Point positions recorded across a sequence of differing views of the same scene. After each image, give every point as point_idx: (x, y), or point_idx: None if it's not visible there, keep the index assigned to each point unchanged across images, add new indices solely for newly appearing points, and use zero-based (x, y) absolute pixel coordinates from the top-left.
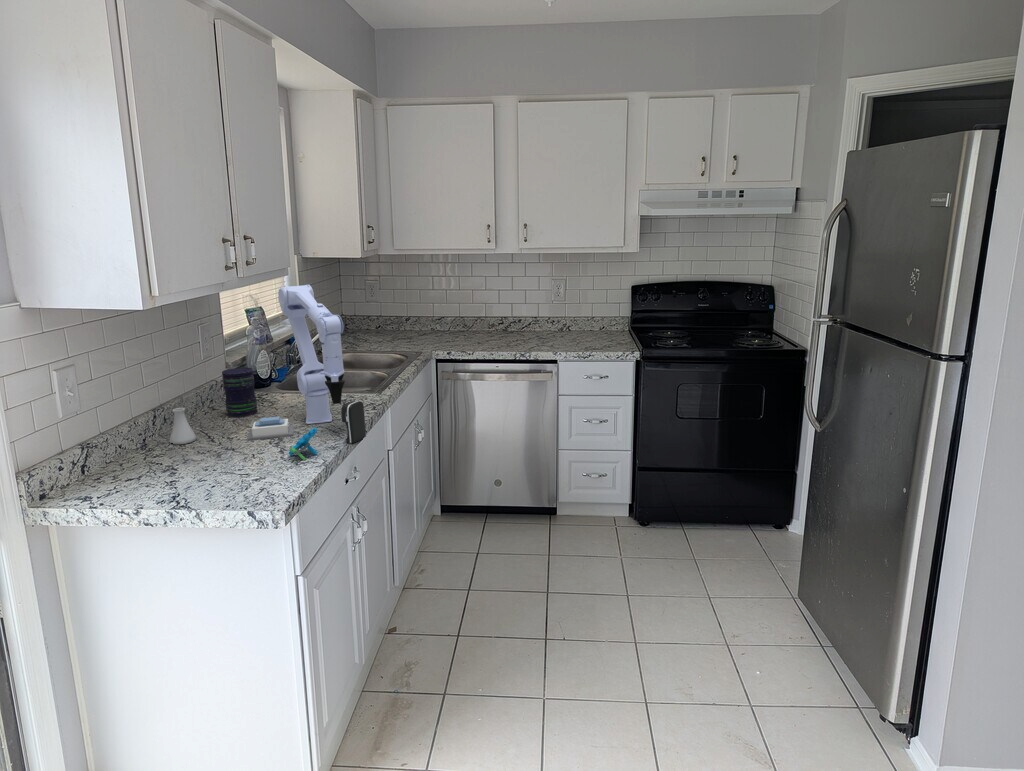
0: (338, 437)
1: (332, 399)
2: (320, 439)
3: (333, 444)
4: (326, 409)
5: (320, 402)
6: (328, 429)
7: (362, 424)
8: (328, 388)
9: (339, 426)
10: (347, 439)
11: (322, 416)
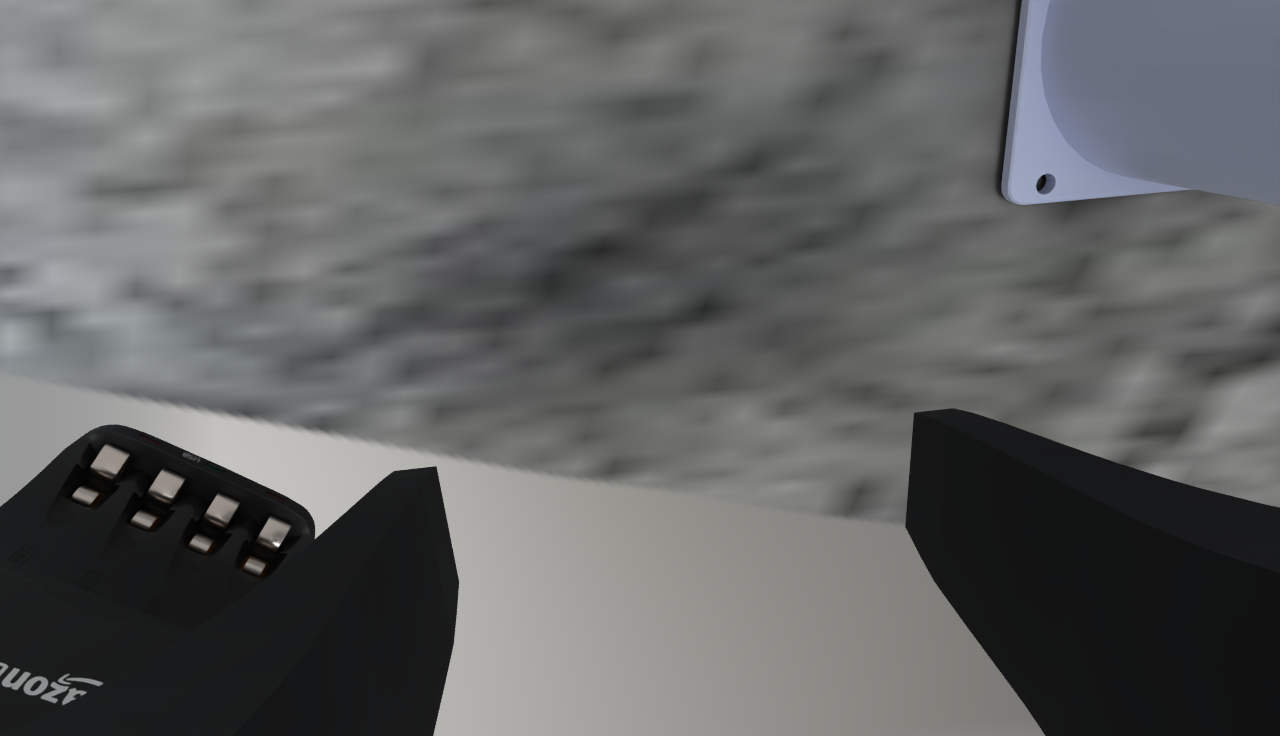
0: (335, 323)
1: (342, 521)
2: (280, 112)
3: (49, 288)
4: (1173, 163)
5: (1258, 88)
6: (702, 182)
7: None
8: (36, 725)
9: (785, 301)
10: (56, 459)
11: (1082, 93)
